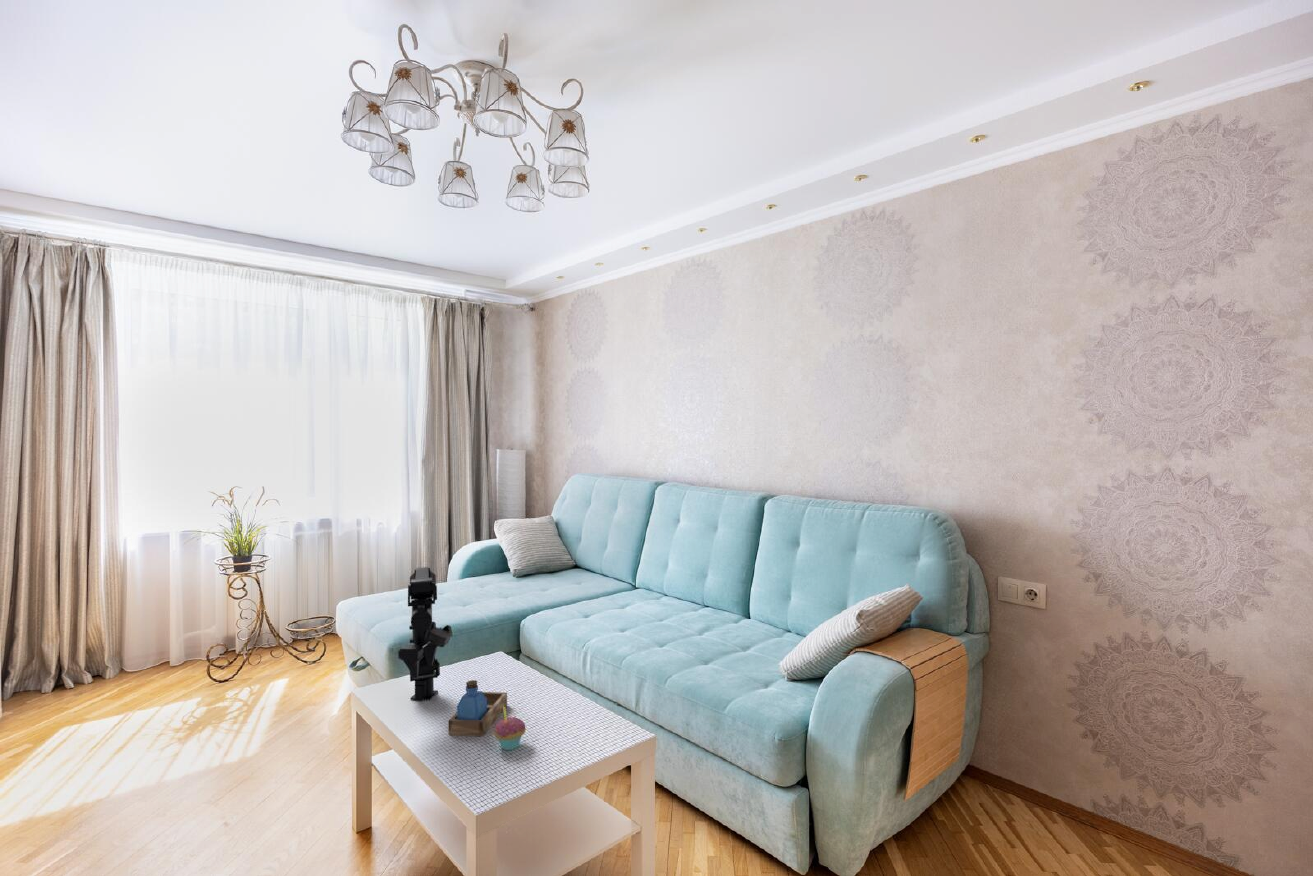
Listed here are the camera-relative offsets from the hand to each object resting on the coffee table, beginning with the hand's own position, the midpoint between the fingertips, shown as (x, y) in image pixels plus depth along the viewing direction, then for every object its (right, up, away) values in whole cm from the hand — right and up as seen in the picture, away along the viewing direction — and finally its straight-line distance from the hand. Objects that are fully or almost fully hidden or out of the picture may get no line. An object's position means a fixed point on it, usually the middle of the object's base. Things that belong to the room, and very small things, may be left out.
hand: (423, 671), depth 186 cm
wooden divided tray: (+18, -13, -4) cm, 23 cm away
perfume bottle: (+18, -12, -9) cm, 23 cm away
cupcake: (+31, -13, -19) cm, 39 cm away
